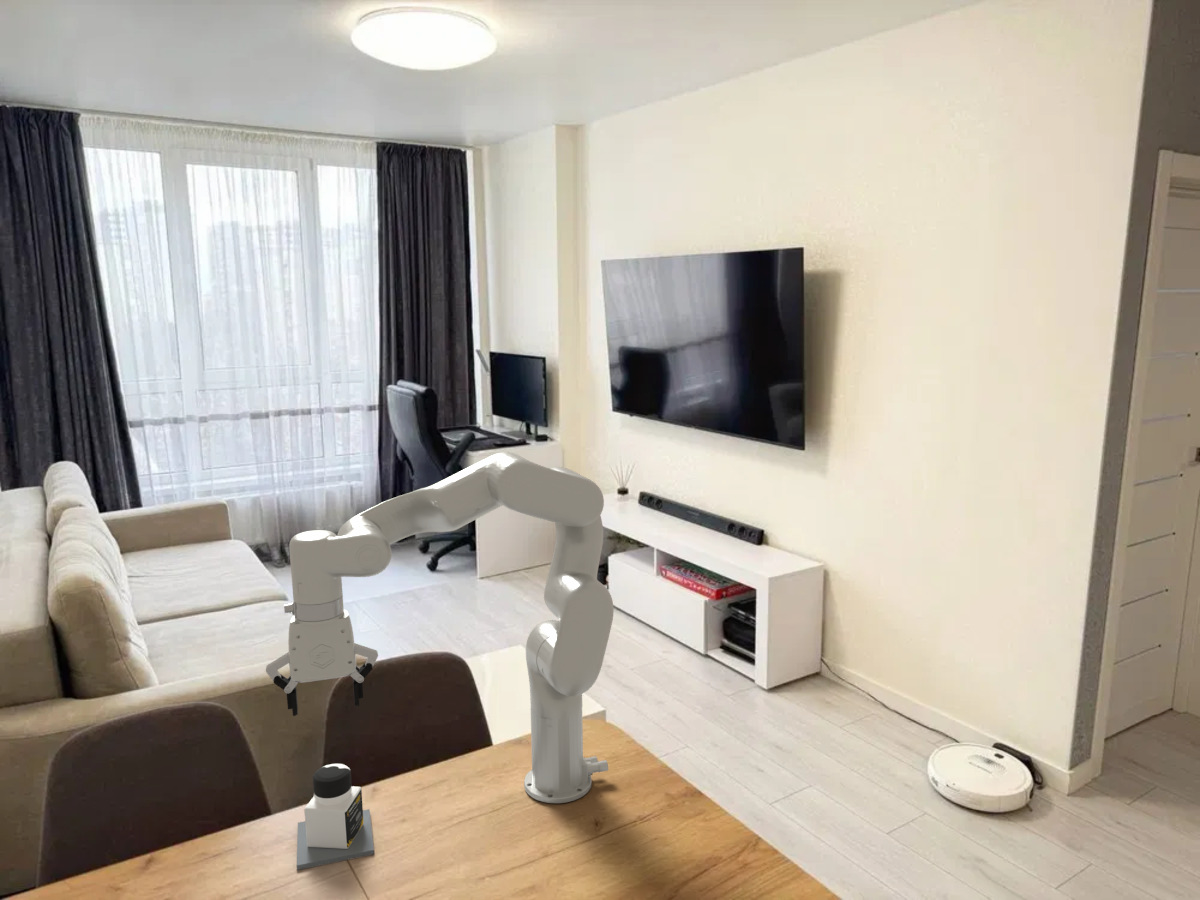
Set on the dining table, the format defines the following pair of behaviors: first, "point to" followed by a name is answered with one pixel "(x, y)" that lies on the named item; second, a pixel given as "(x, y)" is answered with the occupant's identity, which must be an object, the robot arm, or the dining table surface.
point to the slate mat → (322, 856)
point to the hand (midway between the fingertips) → (326, 707)
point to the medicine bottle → (333, 809)
